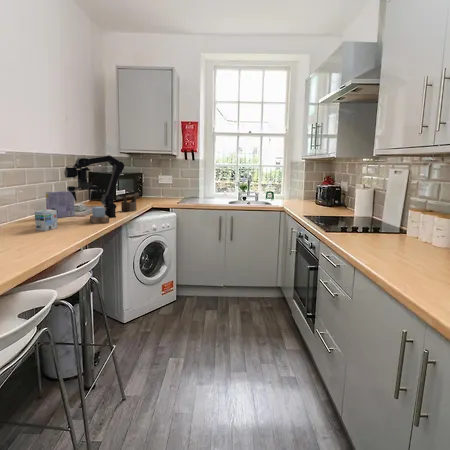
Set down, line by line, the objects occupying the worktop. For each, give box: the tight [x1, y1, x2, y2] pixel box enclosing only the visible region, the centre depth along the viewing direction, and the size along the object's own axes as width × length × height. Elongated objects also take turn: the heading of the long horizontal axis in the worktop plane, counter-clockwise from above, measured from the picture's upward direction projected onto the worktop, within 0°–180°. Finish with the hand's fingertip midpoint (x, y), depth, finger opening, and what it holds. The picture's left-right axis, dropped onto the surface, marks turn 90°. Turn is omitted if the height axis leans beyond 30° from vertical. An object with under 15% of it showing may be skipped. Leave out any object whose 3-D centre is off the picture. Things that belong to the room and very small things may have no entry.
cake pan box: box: [45, 190, 76, 219], centre depth 248 cm, size 19×5×18 cm, turn 145°
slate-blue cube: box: [91, 205, 105, 218], centre depth 233 cm, size 6×6×6 cm
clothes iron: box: [120, 192, 140, 213], centre depth 286 cm, size 8×16×13 cm, turn 154°
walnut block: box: [89, 215, 110, 225], centre depth 234 cm, size 10×10×4 cm
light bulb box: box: [34, 208, 58, 232], centre depth 208 cm, size 11×7×11 cm, turn 168°
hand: (83, 201), depth 241 cm, fingers open, 9 cm apart
